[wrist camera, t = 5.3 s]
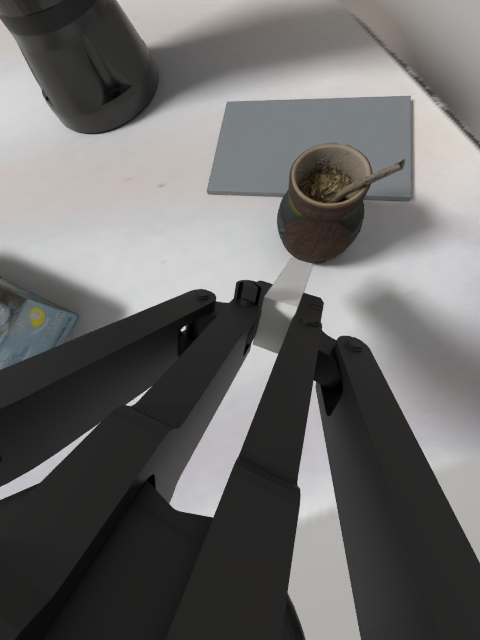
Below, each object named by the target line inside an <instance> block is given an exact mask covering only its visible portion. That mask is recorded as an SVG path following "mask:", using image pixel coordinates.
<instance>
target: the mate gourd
mask: <svg viewBox="0 0 480 640" xmlns="http://www.w3.org/2000/svg"><path fill="white" fill-rule="evenodd" d="M404 165H405V159H403V160H402V161H400V162H397V163H396V164H394V165H393V166H390V167H388V168H386V169H382V170H381V171H378V172H377V173H374V174H372V167H371V165H370V162H369V160H368V159H367V158H366V156H365V155H364V154H363V153H361V152H360V151H359V150H357V149H355V148H353V147H351V146H349V145H343V144H338V143H336V142H335V143H326V144H322V145H318V146H314V147H312V148H310V149H308V150H306V151H305V152H303V153H302V154H301V155H300V156H299V157H298V158H297V159H296V160H295V161H294V163H293V165H292V167H291V170H290V174H289V186H288V188H289V190H287V192H286V194H285V195H284V197H283V199H282V201H281V203H280V207H279V210H278V216H277V224H278V231H279V234H280V238H281V240H282V242H283V244H284V246H285V248H286V249H287V250H288V252H290V254H292V255H293V256H294V257H295V258H296V259H298V260H300V261H304V262H308V263H323V262H326V261H327V260H330V259H332V258H335V257H336V256H338V255H340V254H341V253H342V252H344V251H345V249H346V248H348V246H349V245H350V244H351V243H352V242H353V241H354V239H355V238H356V236H357V235H358V233H359V232H360V228H361V226H362V222H363V219H364V204H363V200H364V198H365V196H366V193H367V191H368V190H369V188H370V185H371V183H373V182H376V181H378V180H380V179H382V178H384V177H387V176H389V175H391V174H394V173H395V172H398V171H400V170H402V169H403V168H404Z"/></svg>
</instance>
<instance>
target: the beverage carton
mask: <svg viewBox="0 0 480 640" xmlns="http://www.w3.org/2000/svg"><path fill="white" fill-rule="evenodd" d="M77 318H78V315H77V314H76V313H73V312H71V311H69V310H67V309H65V308H62V307H60V306H57V305H55V304H53V303H51V302H49V301H47V300H45V299H43V298H41V297H39V296H37V295H34V294H33V293H31V292H29V291H27V290H25V289H22V288H20V287H18V286H16V285H14V284H12V283H10V282H8V281H6V280H4V279H2V278H0V370H1V369H3V368H6V367H8V366H11V365H13V364H16V363H18V362H20V361H23V360H25V359H28V358H30V357H32V356H35V355H37V354H40V353H42V352H45V351H47V350H49V349H52V348H54V347H57V346H59V345H61V344H63V342H64V341H65V339H66V337H67V336H68V334H69V332H70V330H71V329H72V327H73V325H74V324H75V322H76V320H77Z"/></svg>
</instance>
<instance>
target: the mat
mask: <svg viewBox="0 0 480 640" xmlns="http://www.w3.org/2000/svg"><path fill="white" fill-rule="evenodd" d="M335 142H336V143H338V144H343V145H349V146H351V147H353V148H355V149H357V150H359V151H360V152H361V153H363V154H364V155H365V156H366V158H367V159H368V160H369V162H370V165H371V167H372V174H374V173H377V172H378V171H381V170H382V169H386V168H388V167H390V166H393V165H394V164H396V163H397V162H400V161H402V160H403V159H405V165H404V168H403V169H402V170H400V171H398V172H395V173H394V174H391V175H389V176H387V177H384V178H382V179H380V180H378V181H376V182H373V183H371V185H370V188H369V190H368V191H367V193H366V196H365V198H364V199H365V200H394V201H409V199H410V198H411V96H391V97H361V98H330V99H299V100H268V101H237V102H227V104H226V109H225V113H224V117H223V122H222V126H221V131H220V135H219V139H218V144H217V148H216V153H215V157H214V162H213V166H212V170H211V175H210V179H209V184H208V188H207V192H208V194H219V195H248V196H278V197H284V195H285V194H286V192H287V190H289V188H288V186H289V174H290V170H291V167H292V165H293V163H294V161H295V160H296V159H297V158H298V157H299V156H300V155H301V154H302V153H303V152H305V151H306V150H308V149H310V148H312V147H314V146H318V145H322V144H326V143H335Z"/></svg>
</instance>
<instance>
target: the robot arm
mask: <svg viewBox="0 0 480 640" xmlns="http://www.w3.org/2000/svg"><path fill="white" fill-rule="evenodd" d="M0 19H1V20H2V22H3V23H4V24H5V26H6V27H7V29H8V30H9V31H10V33H11V34H12V35H13V37H14V38H15V40H16V42H17V43H18V45H19V47H20V49H21V51H22V53H23V56H24V58H25V60H26V62H27V64H28V66H29V67H30V69H31V71H32V73H33V75H34V77H35V79H36V81H37V82H38V84H39V86H40V87H41V89H42V93H43V96H44V98H45V100H46V102H47V104H48V105H49V107H50V108H51V109H52V111H53V112H54V113H55V114H56V116H57V117H58V118H59V119H60V121H61V122H62V123H63V124H64V125H65V126H66V127H68V128H69V129H71V130H74V131H77V132H81V133H98V132H103V131H107V130H110V129H113V128H116V127H118V126H120V125H122V124H124V123H126V122H128V121H129V120H131V119H132V118H133V117H135V116H136V115H137V114H138V113H140V112H141V111H142V110H143V109H144V108H145V106H146V105H147V104H148V103H149V101H150V100H151V98H152V96H153V95H154V92H155V90H156V87H157V81H158V75H157V71H156V68H155V65H154V63H153V60H152V57H151V55H150V52H149V50H148V48H147V46H146V44H145V43H144V41H143V40H142V39H141V37H140V36H139V34H138V33H137V31H136V29H135V28H134V26H133V25H132V23H131V22H130V20H129V19H128V17H127V16H126V14H125V13H124V11H123V10H122V8H121V7H120V5H119V4H118V2H117V1H116V0H0ZM312 267H313V264H311V263H308V262H304V261H300V260H297V259H293V258H291V259H290V260H289V262H288V263H287V265H286V266H285V268H284V269H283V270H282V272H281V273H280V275H279V276H278V278H277V279H276V281H275V282H274V284H270V283H267V282H264V281H258V282H255V281H250V280H241V281H238V282H236V288H235V294H234V299H233V300H232V301H231V302H230V303H223V302H216V296H215V294H214V293H212V292H210V291H207V290H204V289H199V290H192V291H189V292H187V293H185V294H182V295H180V296H177V297H175V298H173V299H170V300H168V301H165V302H163V303H160V304H158V305H156V306H153V307H151V308H148V309H146V310H144V311H141V312H139V313H136V314H134V315H131V316H129V317H127V318H124V319H122V320H119V321H117V322H115V323H112V324H110V325H107V326H105V327H103V328H100V329H98V330H95V331H93V332H90V333H88V334H86V335H83V336H81V337H78V338H76V339H74V340H71V341H69V342H66V343H64V344H61V345H59V346H57V347H54V348H52V349H49V350H47V351H45V352H42V353H40V354H37V355H35V356H32V357H30V358H28V359H25V360H23V361H20V362H18V363H16V364H13V365H11V366H8V367H6V368H3V369H1V370H0V487H1V486H3V485H5V484H7V483H9V482H11V481H12V480H14V479H16V478H18V477H20V476H21V475H23V474H25V473H27V472H28V471H30V470H32V469H34V468H35V467H37V466H38V465H40V464H41V463H43V462H44V461H46V460H47V459H49V458H50V457H52V456H53V455H55V454H56V453H58V452H59V451H60V450H62V449H63V448H65V447H66V446H68V445H69V444H70V443H72V442H73V441H75V440H76V439H78V438H79V437H80V436H82V435H83V434H85V433H86V432H87V431H89V430H90V429H92V428H93V427H95V426H96V425H97V424H99V423H100V422H101V423H100V424H99V425H98V426H97V427H96V428H95V429H94V430H93V431H92V432H91V433H90V434H89V435H88V436H87V437H86V438H85V439H84V440H83V441H82V442H81V443H80V444H79V445H78V446H77V447H76V448H75V449H74V450H73V451H72V452H71V453H70V454H69V455H68V456H67V457H66V458H65V459H64V460H63V461H62V462H61V463H60V464H59V465H58V466H57V467H56V468H55V469H54V470H53V471H52V472H51V473H50V474H49V475H48V476H47V477H46V478H45V479H44V480H43V481H42V482H41V483H39V484H36V485H34V486H32V487H29V488H27V489H25V490H23V491H20V492H18V493H16V494H13V495H11V496H9V497H6V498H4V499H2V500H0V640H305V636H304V633H303V630H302V627H301V624H300V621H299V618H298V616H297V613H296V611H295V608H294V606H293V603H292V602H291V599H290V597H289V595H288V593H287V591H288V583H289V577H290V569H291V563H292V556H293V549H294V541H295V534H296V528H297V521H298V514H299V506H300V488H299V487H298V486H297V480H298V472H299V466H300V460H301V454H302V448H303V442H304V435H305V429H306V423H307V417H308V411H309V405H310V398H311V392H312V386H313V380H314V381H316V392H317V398H318V403H319V409H320V414H321V420H322V425H323V431H324V437H325V442H326V448H327V453H328V459H329V464H330V470H331V475H332V481H333V487H334V492H335V498H336V503H337V509H338V514H339V520H340V525H341V531H342V537H343V542H344V547H345V553H346V559H347V564H348V570H349V575H350V581H351V587H352V592H353V597H354V602H355V609H356V613H357V620H358V625H359V631H360V636H361V640H480V563H479V561H478V559H477V557H476V555H475V553H474V551H473V549H472V547H471V545H470V543H469V541H468V539H467V537H466V535H465V533H464V531H463V529H462V528H461V526H460V524H459V522H458V520H457V518H456V516H455V514H454V512H453V510H452V508H451V506H450V504H449V502H448V500H447V498H446V496H445V495H444V492H443V491H442V489H441V487H440V485H439V483H438V481H437V479H436V477H435V475H434V473H433V471H432V469H431V467H430V465H429V463H428V461H427V459H426V457H425V455H424V454H423V452H422V450H421V448H420V446H419V444H418V442H417V440H416V438H415V436H414V434H413V432H412V430H411V428H410V426H409V424H408V422H407V420H406V418H405V417H404V415H403V413H402V411H401V409H400V407H399V405H398V403H397V401H396V399H395V397H394V395H393V393H392V391H391V389H390V387H389V385H388V383H387V381H386V380H385V378H384V376H383V374H382V372H381V370H380V368H379V366H378V364H377V362H376V360H375V358H374V356H373V354H372V352H371V350H370V349H369V347H368V346H367V345H366V344H365V343H363V342H362V341H361V340H359V339H357V338H355V337H350V336H340V337H339V338H338V339H337V340H335V339H333V338H331V337H329V336H328V335H326V334H325V333H324V332H323V331H322V324H321V316H322V311H323V305H324V302H323V301H322V299H321V298H319V297H316V296H313V295H309V294H306V293H304V291H305V288H306V285H307V282H308V279H309V276H310V273H311V270H312ZM184 326H186V330H184V331H182V332H181V329H182V328H183V327H184ZM253 339H254V342H253V345H256V346H259V347H261V348H264V349H267V350H270V351H272V352H275V353H278V356H277V359H276V361H275V364H274V367H273V369H272V372H271V374H270V377H269V380H268V382H267V385H266V387H265V390H264V392H263V395H262V398H261V400H260V403H259V405H258V408H257V411H256V413H255V416H254V418H253V421H252V423H251V426H250V429H249V431H248V434H247V436H246V439H245V441H244V444H243V447H242V449H241V452H240V454H239V457H238V458H237V460H236V462H235V464H234V467H233V469H232V472H231V474H230V477H229V479H228V482H227V484H226V487H225V489H224V492H223V495H222V497H221V500H220V502H219V505H218V507H217V510H216V512H215V515H214V518H212V517H207V516H201V515H196V514H191V513H185V512H180V511H177V510H175V509H174V508H172V507H171V505H170V504H169V503H170V501H171V498H172V496H173V493H174V490H175V487H176V484H177V482H178V480H179V478H180V476H181V474H182V472H183V470H184V469H185V467H186V465H187V463H188V461H189V460H190V458H191V456H192V454H193V452H194V450H195V449H196V447H197V445H198V443H199V441H200V440H201V438H202V436H203V434H204V432H205V431H206V429H207V427H208V425H209V423H210V422H211V420H212V418H213V416H214V414H215V412H216V411H217V409H218V407H219V405H220V403H221V402H222V400H223V398H224V396H225V394H226V393H227V391H228V389H229V387H230V385H231V383H232V382H233V380H234V378H235V376H236V374H237V373H238V371H239V369H240V367H241V365H242V364H243V362H244V360H245V358H246V356H247V354H248V353H249V351H250V348H251V343H252V341H253ZM151 386H152V387H151ZM150 387H151V388H150ZM148 388H150V389H149V390H148V391H147V392H146V393H145V394H144V396H143V397H142V398H141V399H140V400H139V401H138V402H137V403H136V404H135V405H133V406H127V405H126V404H127V403H129V402H130V401H131V400H133V399H134V398H136V397H137V396H139V395H140V394H141V393H143V392H144V391H146V390H147V389H148Z"/></svg>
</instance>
